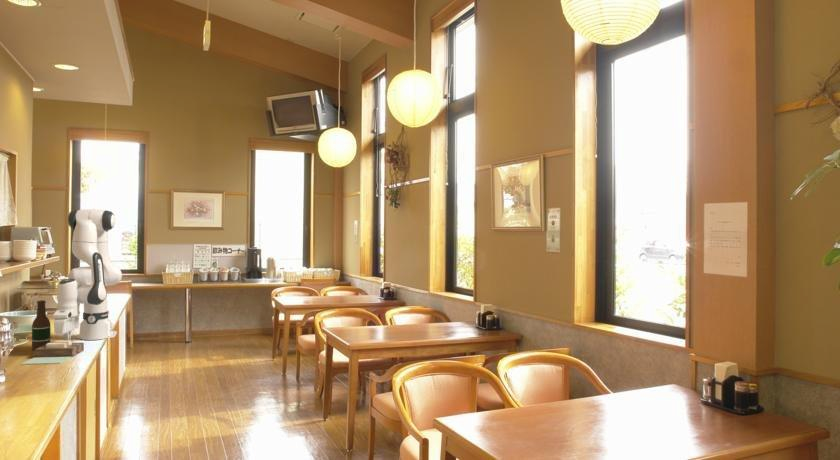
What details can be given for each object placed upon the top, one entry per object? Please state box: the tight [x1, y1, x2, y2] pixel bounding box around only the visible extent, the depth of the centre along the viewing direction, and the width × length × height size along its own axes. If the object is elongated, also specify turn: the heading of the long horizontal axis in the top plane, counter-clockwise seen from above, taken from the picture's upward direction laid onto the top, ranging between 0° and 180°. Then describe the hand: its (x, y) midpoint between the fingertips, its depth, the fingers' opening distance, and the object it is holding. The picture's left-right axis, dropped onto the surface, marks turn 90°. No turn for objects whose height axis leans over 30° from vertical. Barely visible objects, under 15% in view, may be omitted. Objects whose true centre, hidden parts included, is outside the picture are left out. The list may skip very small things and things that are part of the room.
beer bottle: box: [31, 299, 51, 351], centre depth 293 cm, size 8×8×24 cm
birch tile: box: [46, 339, 73, 348], centre depth 281 cm, size 8×8×2 cm
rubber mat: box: [21, 357, 72, 366], centre depth 269 cm, size 12×16×1 cm
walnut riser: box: [34, 342, 85, 358], centre depth 282 cm, size 14×16×4 cm
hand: (67, 340), depth 290 cm, fingers closed
